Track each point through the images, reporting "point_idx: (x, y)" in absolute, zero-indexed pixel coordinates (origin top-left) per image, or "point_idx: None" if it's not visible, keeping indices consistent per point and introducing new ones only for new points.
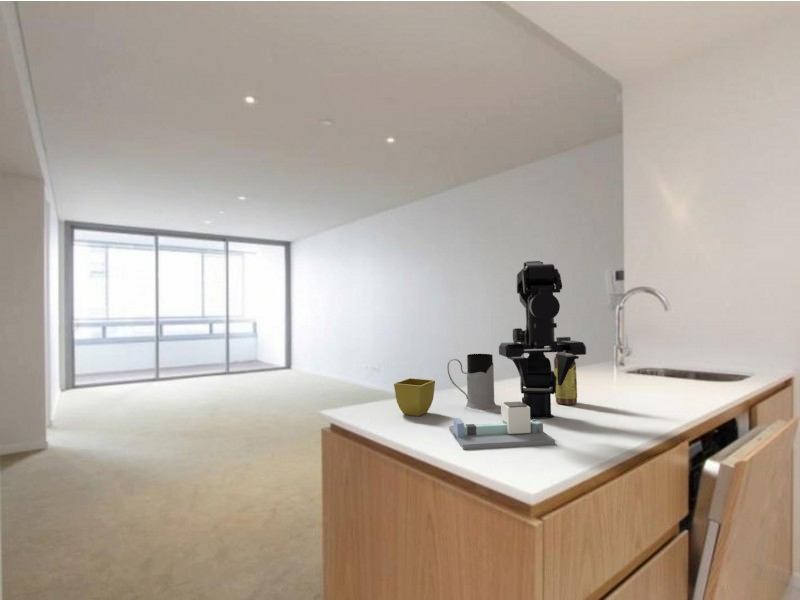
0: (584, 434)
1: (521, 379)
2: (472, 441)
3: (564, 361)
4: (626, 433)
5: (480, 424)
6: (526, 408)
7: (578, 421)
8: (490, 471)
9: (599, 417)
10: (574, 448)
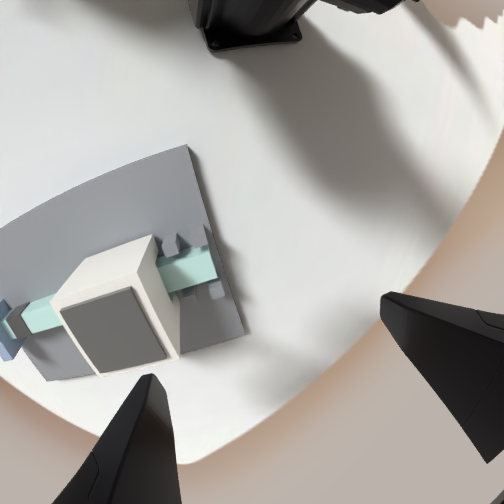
0: (344, 227)
1: (121, 410)
2: (53, 366)
3: (480, 433)
4: (425, 209)
5: (33, 313)
6: (165, 359)
7: (363, 89)
8: None
9: (414, 65)
10: (282, 342)
